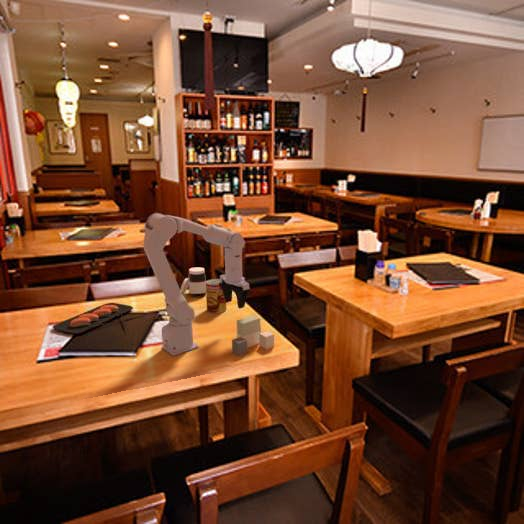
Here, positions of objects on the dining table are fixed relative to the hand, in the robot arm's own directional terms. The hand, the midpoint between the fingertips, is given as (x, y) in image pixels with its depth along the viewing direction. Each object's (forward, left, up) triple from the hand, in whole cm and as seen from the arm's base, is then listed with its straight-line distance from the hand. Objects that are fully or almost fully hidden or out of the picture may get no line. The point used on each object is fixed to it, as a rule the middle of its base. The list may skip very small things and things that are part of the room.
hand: (234, 304), depth 143 cm
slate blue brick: (+4, -5, -11) cm, 12 cm away
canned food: (+7, +23, -11) cm, 26 cm away
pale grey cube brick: (+2, -16, -10) cm, 19 cm away
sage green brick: (-2, -10, -6) cm, 12 cm away
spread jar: (+10, +47, -11) cm, 49 cm away
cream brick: (-2, -10, -10) cm, 15 cm away
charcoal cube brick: (-8, -14, -10) cm, 19 cm away
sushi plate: (-31, +38, -11) cm, 50 cm away
